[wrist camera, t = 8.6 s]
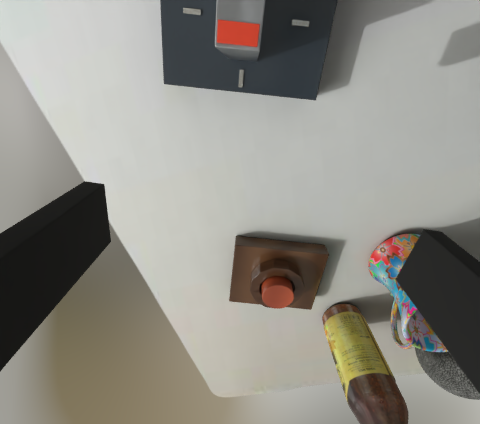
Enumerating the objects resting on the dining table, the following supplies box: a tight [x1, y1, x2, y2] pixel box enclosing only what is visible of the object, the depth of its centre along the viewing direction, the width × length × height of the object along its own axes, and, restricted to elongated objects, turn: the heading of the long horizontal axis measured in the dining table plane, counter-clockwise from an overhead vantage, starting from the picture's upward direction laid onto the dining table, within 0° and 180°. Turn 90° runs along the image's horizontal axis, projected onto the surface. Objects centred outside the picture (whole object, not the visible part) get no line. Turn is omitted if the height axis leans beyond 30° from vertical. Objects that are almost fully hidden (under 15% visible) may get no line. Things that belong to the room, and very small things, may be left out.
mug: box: [369, 234, 448, 352], centre depth 30 cm, size 12×9×11 cm
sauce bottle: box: [323, 304, 408, 424], centre depth 31 cm, size 7×6×20 cm
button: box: [261, 276, 294, 308], centre depth 32 cm, size 4×4×2 cm
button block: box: [229, 236, 329, 309], centre depth 34 cm, size 12×10×4 cm
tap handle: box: [215, 0, 265, 62], centre depth 16 cm, size 6×2×9 cm, turn 174°
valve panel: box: [160, 0, 337, 100], centre depth 22 cm, size 14×11×3 cm
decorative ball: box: [415, 347, 480, 400], centre depth 36 cm, size 10×10×10 cm
